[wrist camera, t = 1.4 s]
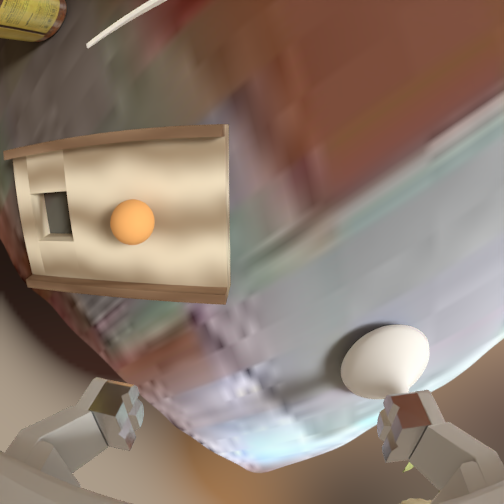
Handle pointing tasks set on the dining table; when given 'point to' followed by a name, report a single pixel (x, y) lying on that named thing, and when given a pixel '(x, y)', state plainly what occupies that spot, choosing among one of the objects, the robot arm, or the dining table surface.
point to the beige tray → (125, 188)
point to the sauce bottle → (31, 19)
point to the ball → (132, 222)
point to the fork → (125, 20)
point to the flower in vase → (386, 366)
